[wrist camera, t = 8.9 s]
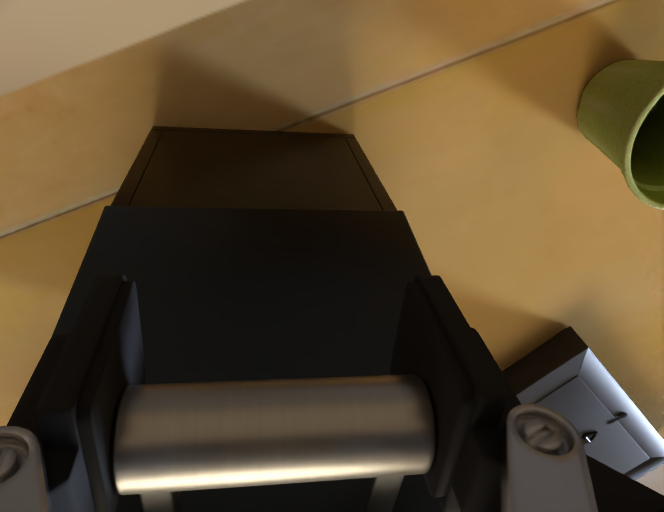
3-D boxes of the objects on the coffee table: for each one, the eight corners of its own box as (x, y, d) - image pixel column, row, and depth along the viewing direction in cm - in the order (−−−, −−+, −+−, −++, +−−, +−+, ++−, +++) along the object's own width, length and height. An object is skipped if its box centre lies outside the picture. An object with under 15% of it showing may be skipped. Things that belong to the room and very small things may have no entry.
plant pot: (528, 108, 37) (598, 146, 30) (639, 1, 34) (746, 15, 27) (592, 185, 41) (668, 236, 34) (696, 96, 39) (803, 130, 31)
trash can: (334, 313, 44) (363, 431, 33) (169, 315, 42) (142, 444, 31) (353, 134, 36) (399, 212, 25) (152, 125, 34) (108, 208, 23)
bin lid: (559, 602, 12) (669, 483, 9) (-69, 676, 10) (-214, 555, 7) (400, 223, 25) (423, 118, 22) (107, 220, 23) (85, 103, 20)
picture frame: (459, 551, 66) (657, 433, 60) (471, 585, 63) (683, 464, 56) (344, 479, 56) (570, 325, 49) (350, 515, 52) (595, 355, 45)
